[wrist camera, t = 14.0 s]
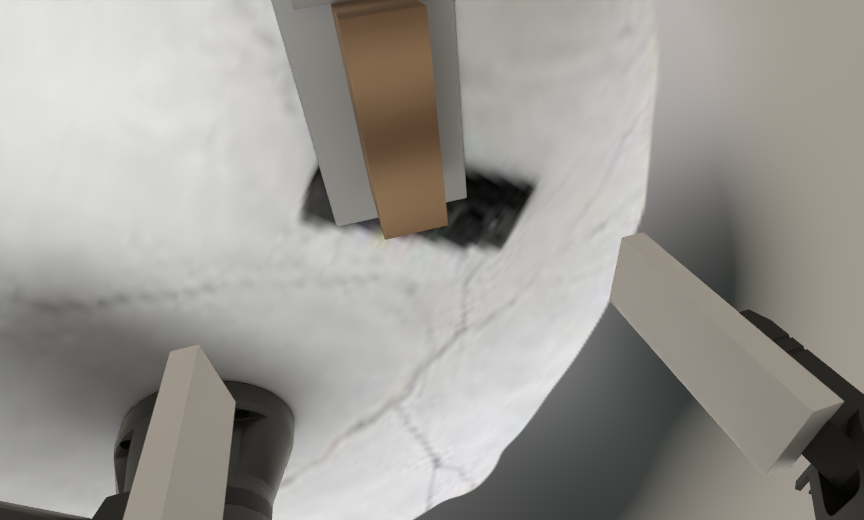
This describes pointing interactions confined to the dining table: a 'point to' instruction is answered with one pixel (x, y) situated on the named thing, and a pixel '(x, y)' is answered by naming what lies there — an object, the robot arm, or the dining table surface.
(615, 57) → the dining table surface
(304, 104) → the rest mat
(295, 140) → the dining table surface
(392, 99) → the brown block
